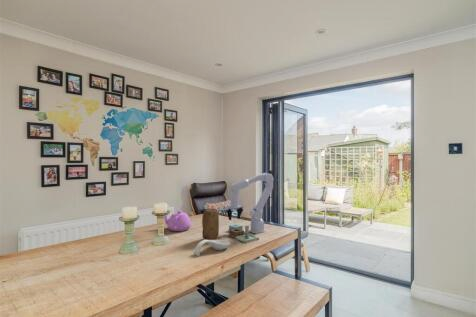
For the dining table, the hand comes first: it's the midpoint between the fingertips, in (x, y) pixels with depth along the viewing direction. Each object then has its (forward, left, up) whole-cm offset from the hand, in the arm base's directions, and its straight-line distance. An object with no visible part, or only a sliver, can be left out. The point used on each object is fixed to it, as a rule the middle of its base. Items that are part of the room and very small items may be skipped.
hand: (234, 219), depth 191 cm
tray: (+1, +17, -10) cm, 19 cm away
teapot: (+31, -31, -10) cm, 45 cm away
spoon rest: (+31, +22, -10) cm, 39 cm away
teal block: (-3, -3, -10) cm, 11 cm away
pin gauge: (+1, +16, -9) cm, 19 cm away
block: (+23, +5, -10) cm, 26 cm away
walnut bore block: (+3, +7, -10) cm, 12 cm away
